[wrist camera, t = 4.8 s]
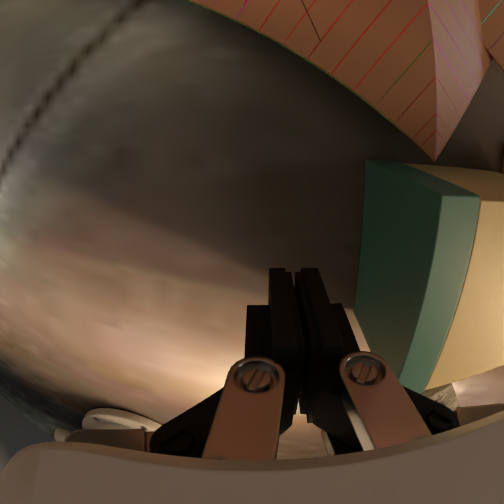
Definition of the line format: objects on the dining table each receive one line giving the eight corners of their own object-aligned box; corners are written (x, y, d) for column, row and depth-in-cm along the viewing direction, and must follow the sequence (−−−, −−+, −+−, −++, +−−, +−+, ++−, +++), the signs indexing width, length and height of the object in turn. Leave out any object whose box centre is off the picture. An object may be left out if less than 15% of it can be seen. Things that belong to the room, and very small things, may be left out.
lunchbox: (352, 311, 20) (389, 400, 13) (364, 159, 16) (441, 194, 9) (472, 295, 20) (526, 357, 12) (497, 169, 15) (578, 204, 8)
